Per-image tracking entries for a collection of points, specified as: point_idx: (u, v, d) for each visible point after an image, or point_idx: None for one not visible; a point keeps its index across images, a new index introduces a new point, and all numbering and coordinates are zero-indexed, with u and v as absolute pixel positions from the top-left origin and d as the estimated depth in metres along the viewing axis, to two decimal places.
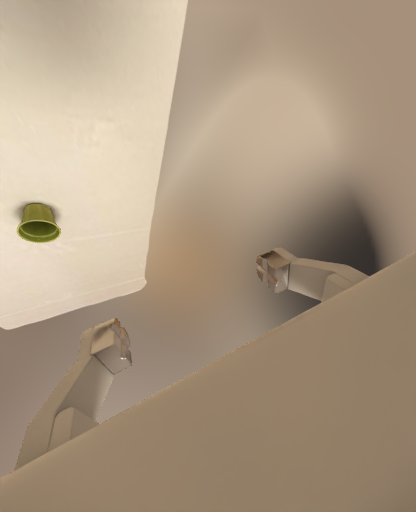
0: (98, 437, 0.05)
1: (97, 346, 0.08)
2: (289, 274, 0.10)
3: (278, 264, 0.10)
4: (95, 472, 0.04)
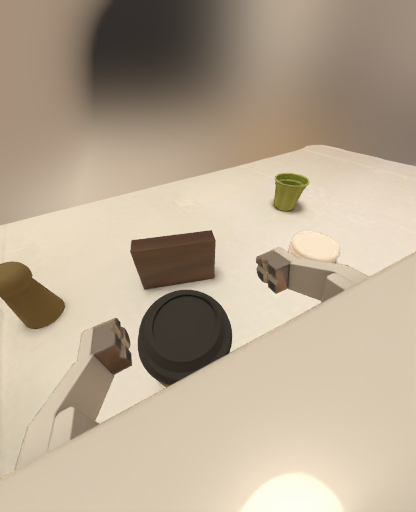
0: (98, 437, 0.05)
1: (97, 347, 0.08)
2: (289, 274, 0.10)
3: (278, 264, 0.10)
4: (95, 472, 0.04)
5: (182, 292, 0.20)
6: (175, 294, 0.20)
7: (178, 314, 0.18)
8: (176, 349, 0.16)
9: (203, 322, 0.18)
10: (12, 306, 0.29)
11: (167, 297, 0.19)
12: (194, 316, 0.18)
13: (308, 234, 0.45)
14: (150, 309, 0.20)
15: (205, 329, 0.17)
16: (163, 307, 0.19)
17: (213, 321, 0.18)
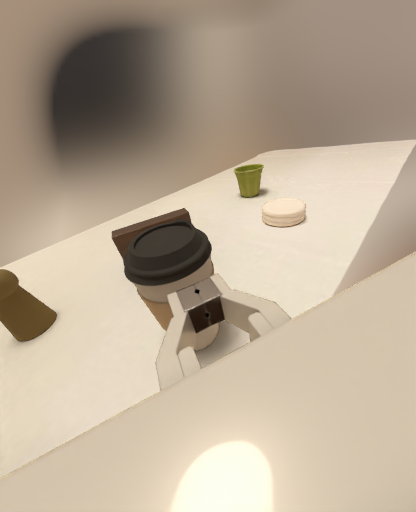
0: (98, 437, 0.05)
1: (188, 305, 0.09)
2: (222, 306, 0.09)
3: (208, 296, 0.09)
4: (95, 472, 0.04)
5: (158, 225, 0.21)
6: (152, 227, 0.21)
7: (157, 237, 0.20)
8: (158, 253, 0.17)
9: (180, 235, 0.19)
10: (0, 314, 0.28)
11: (145, 231, 0.21)
12: (171, 234, 0.20)
13: (274, 201, 0.49)
14: None
15: (182, 237, 0.19)
16: (142, 238, 0.20)
17: (189, 232, 0.19)
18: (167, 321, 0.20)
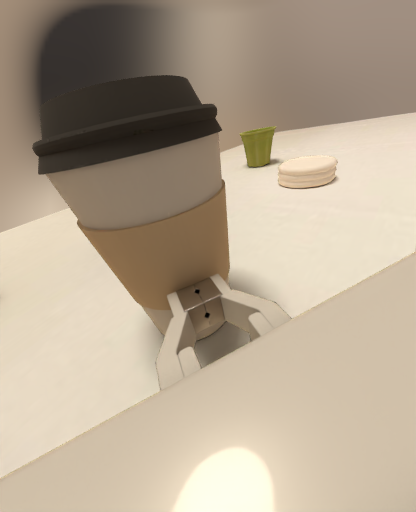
0: (98, 437, 0.05)
1: (188, 305, 0.09)
2: (222, 306, 0.09)
3: (208, 296, 0.09)
4: (95, 472, 0.04)
5: None
6: None
7: None
8: None
9: None
10: None
11: None
12: None
13: (294, 160, 0.39)
14: None
15: None
16: None
17: None
18: (138, 280, 0.10)
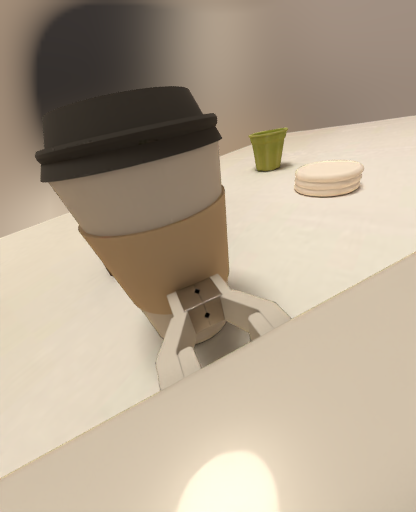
0: (98, 437, 0.05)
1: (188, 305, 0.09)
2: (222, 306, 0.09)
3: (208, 296, 0.09)
4: (95, 472, 0.04)
5: None
6: None
7: None
8: None
9: None
10: None
11: None
12: None
13: (312, 165, 0.35)
14: None
15: None
16: None
17: None
18: (140, 285, 0.10)
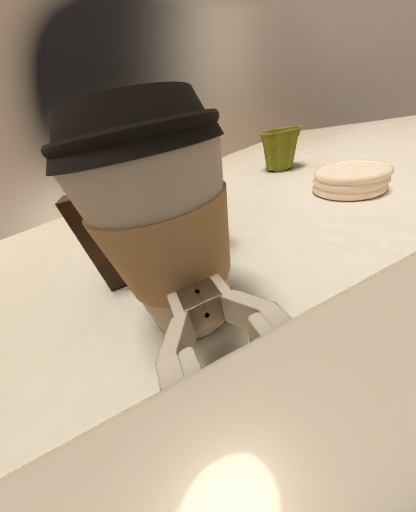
0: (98, 437, 0.05)
1: (188, 305, 0.09)
2: (222, 306, 0.09)
3: (208, 296, 0.09)
4: (95, 472, 0.04)
5: None
6: None
7: None
8: None
9: None
10: None
11: None
12: None
13: (332, 166, 0.32)
14: None
15: None
16: None
17: None
18: (142, 278, 0.10)
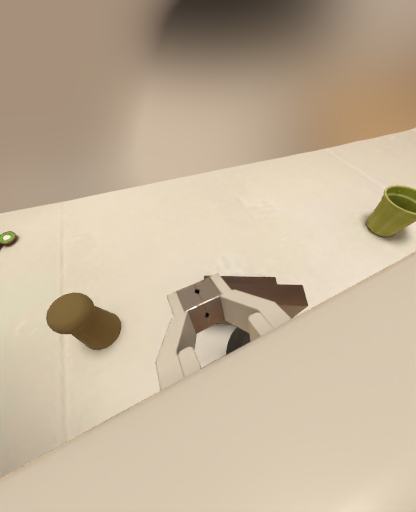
0: (98, 437, 0.05)
1: (188, 305, 0.09)
2: (222, 306, 0.09)
3: (208, 296, 0.09)
4: (95, 472, 0.04)
5: None
6: None
7: None
8: None
9: None
10: (75, 336, 0.27)
11: None
12: None
13: None
14: (238, 332, 0.20)
15: None
16: None
17: None
18: None
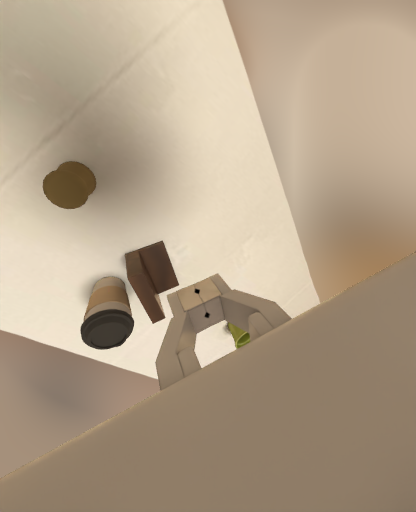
0: (98, 437, 0.05)
1: (188, 305, 0.09)
2: (222, 306, 0.09)
3: (208, 296, 0.09)
4: (95, 472, 0.04)
5: (126, 328, 0.36)
6: (123, 326, 0.36)
7: (112, 331, 0.35)
8: (93, 337, 0.35)
9: (111, 340, 0.36)
10: None
11: (120, 324, 0.35)
12: (113, 336, 0.36)
13: None
14: (113, 314, 0.35)
15: (108, 342, 0.36)
16: (114, 324, 0.35)
17: (113, 343, 0.37)
18: (87, 306, 0.39)
